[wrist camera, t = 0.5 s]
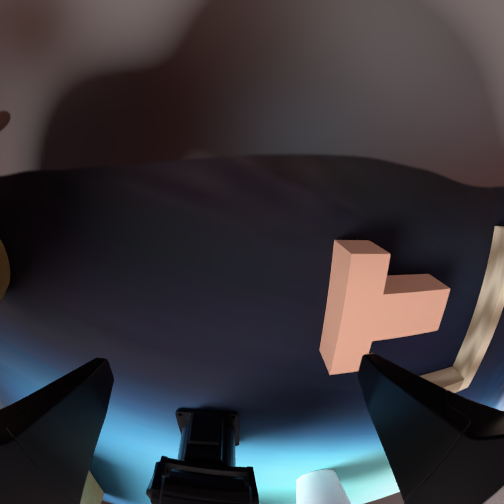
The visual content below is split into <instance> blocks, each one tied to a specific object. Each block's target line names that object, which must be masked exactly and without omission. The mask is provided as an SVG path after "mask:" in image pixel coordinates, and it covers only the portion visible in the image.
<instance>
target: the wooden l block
mask: <svg viewBox="0 0 504 504" xmlns="http://www.w3.org/2000/svg"><path fill="white" fill-rule="evenodd" d="M503 307H504V227H501V226H495V228H494V234H493V240H492V245H491V251H490V255H489V260H488V265H487V269H486V273H485V277H484V281H483V284H482V288H481V292H480V295H479V298H478V302H477V305H476V308H475V311H474V314H473V317H472V320H471V323H470V325H469V328H468V331H467V333H466V336H465V339H464V341H463V344H462V346H461V348H460V351H459V353H458V355H457V358H456V360H455V362H454V364H453V366H452V367H449V368H445V369H442V370H439V371H435V372H432V373H428V374H425V375H421V376H420V377H422V378H424V379H426V380H428V381H430V382H432V383H434V384H436V385H439V386H441V387H443V388H445V389H446V391H447V390H449V391H451V392H453V393H456V392H458V391H460V390H463V389H465V388H468V386H469V384H470V383H471V381H472V379H473V377H474V375H475V373H476V371H477V369H478V367H479V365H480V363H481V361H482V359H483V357H484V355H485V352H486V350H487V348H488V346H489V343H490V341H491V339H492V336H493V334H494V331H495V329H496V326H497V324H498V321H499V318H500V315H501V313H502V310H503Z"/></svg>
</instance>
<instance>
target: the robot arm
mask: <svg viewBox="0 0 504 504" xmlns="http://www.w3.org/2000/svg"><path fill="white" fill-rule="evenodd" d="M358 379H359V382H360V385H361V389H362V392H363V395H364V399H365V402H366V406H367V409H368V412H369V415H370V417H371V419H372V422H373V424H374V427H375V429H376V431H377V434H378V436H379V439H380V441H381V444H382V446H383V449H384V451H385V454H386V456H387V459H388V461H389V464H390V466H391V469H392V471H393V474H394V477H395V479H396V482H397V485H398V487H399V490H400V493H401V495H402V498H403V501H404V504H504V411H500V410H497V409H494V408H491V407H488V406H486V405H483V404H480V403H477V402H474V401H472V400H469V399H466V398H464V397H462V396H460V395H457V394H455V393H453V392H451V391H449V390H447V391H446V389H445V388H443V387H441V386H439V385H436V384H434V383H432V382H430V381H428V380H426V379H424V378H422V377H420V376H418V375H416V374H414V373H412V372H410V371H408V370H406V369H404V368H402V367H400V366H398V365H396V364H395V363H393V362H391V361H389V360H387V359H385V358H383V357H381V356H379V355H377V354H375V353H369V354H364V355H363V356H362V359H361V363H360V367H359V371H358ZM113 383H114V377H113V374H112V371H111V368H110V365H109V362H108V360H107V359H105V358H95V359H93V360H91V361H90V362H88V363H86V364H84V365H83V366H81V367H79V368H77V369H75V370H74V371H72V372H70V373H68V374H66V375H65V376H63V377H61V378H59V379H57V380H56V381H54V382H52V383H50V384H48V385H47V386H45V387H43V388H41V389H39V390H38V391H36V392H34V393H32V394H30V395H29V396H26V397H25V398H23V399H21V400H19V401H17V402H15V403H13V404H11V405H9V406H7V407H5V408H2V409H0V504H80V502H81V498H82V494H83V490H84V486H85V482H86V479H87V475H88V471H89V468H90V464H91V461H92V457H93V454H94V451H95V447H96V444H97V441H98V438H99V435H100V432H101V429H102V426H103V423H104V420H105V417H106V413H107V409H108V404H109V400H110V395H111V391H112V387H113ZM176 418H177V422H178V425H179V429H180V432H181V441H180V447H179V453H178V460H177V459H172V458H168V457H166V456H162V457H161V460H160V462H156V465H155V470H154V474H153V477H152V479H151V481H150V484H149V486H148V488H147V491H146V494H147V496H148V497H149V498H150V499H151V503H152V504H259V498H258V492H257V486H256V481H255V476H254V471H253V467H235V446H238V445H239V420H238V413H237V412H234V411H200V410H184V409H178V410H176Z"/></svg>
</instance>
